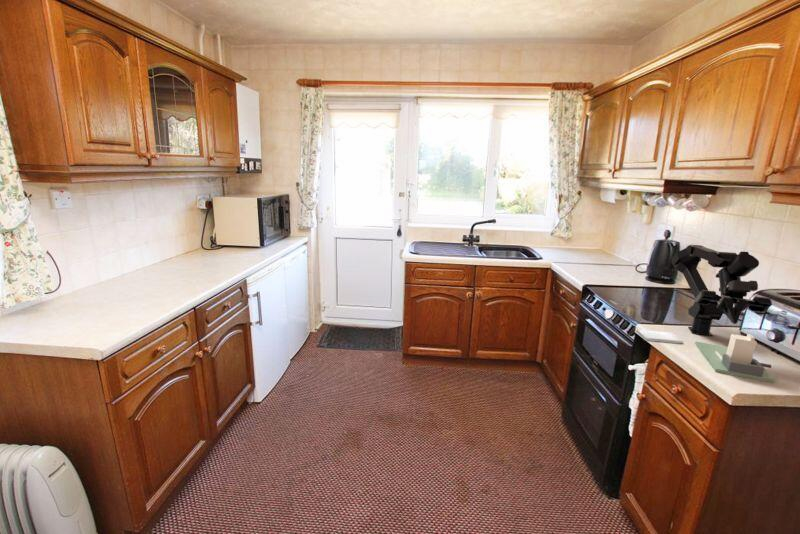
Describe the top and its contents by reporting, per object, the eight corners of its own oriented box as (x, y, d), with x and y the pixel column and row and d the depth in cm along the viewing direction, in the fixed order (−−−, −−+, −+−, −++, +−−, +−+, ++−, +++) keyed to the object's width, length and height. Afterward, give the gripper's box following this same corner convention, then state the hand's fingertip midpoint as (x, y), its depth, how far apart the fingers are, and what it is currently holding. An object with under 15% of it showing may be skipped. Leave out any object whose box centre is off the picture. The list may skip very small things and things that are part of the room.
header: (721, 362, 121) (723, 353, 120) (753, 368, 118) (755, 359, 117) (728, 370, 116) (730, 361, 115) (761, 377, 113) (764, 368, 112)
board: (694, 343, 137) (695, 340, 136) (744, 352, 131) (745, 348, 131) (715, 371, 117) (716, 367, 117) (774, 382, 112) (775, 378, 111)
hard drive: (645, 337, 138) (683, 341, 136) (635, 328, 146) (671, 332, 144) (644, 341, 139) (682, 345, 137) (635, 332, 146) (670, 336, 144)
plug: (724, 359, 123) (732, 331, 120) (766, 367, 119) (774, 337, 116) (729, 365, 119) (736, 335, 117) (772, 373, 115) (781, 342, 113)
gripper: (706, 267, 129) (709, 307, 122) (777, 274, 122) (785, 317, 115) (694, 283, 138) (697, 322, 131) (760, 291, 131) (766, 332, 124)
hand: (734, 323), depth 125 cm, fingers closed
